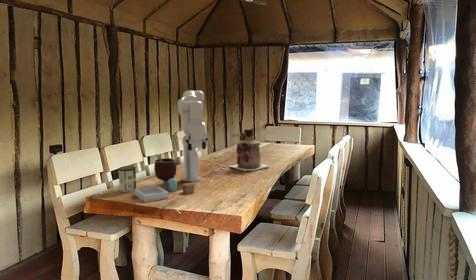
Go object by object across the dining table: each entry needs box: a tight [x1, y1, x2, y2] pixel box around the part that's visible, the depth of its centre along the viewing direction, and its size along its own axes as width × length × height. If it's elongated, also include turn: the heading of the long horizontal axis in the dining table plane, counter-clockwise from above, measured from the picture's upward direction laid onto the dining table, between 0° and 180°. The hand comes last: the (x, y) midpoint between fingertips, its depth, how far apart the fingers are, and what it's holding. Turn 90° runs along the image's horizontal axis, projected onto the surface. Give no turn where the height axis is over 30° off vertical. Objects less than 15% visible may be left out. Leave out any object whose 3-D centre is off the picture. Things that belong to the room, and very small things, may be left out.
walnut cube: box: [182, 182, 195, 195], centre depth 224 cm, size 5×5×5 cm
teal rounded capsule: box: [168, 177, 178, 192], centre depth 228 cm, size 5×5×7 cm
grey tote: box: [134, 185, 170, 203], centre depth 216 cm, size 18×14×4 cm
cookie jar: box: [228, 127, 270, 172], centre depth 293 cm, size 25×25×32 cm
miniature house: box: [117, 165, 137, 193], centre depth 229 cm, size 10×10×14 cm
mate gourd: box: [154, 154, 177, 190], centre depth 238 cm, size 16×14×20 cm
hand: (197, 149), depth 225 cm, fingers open, 9 cm apart
